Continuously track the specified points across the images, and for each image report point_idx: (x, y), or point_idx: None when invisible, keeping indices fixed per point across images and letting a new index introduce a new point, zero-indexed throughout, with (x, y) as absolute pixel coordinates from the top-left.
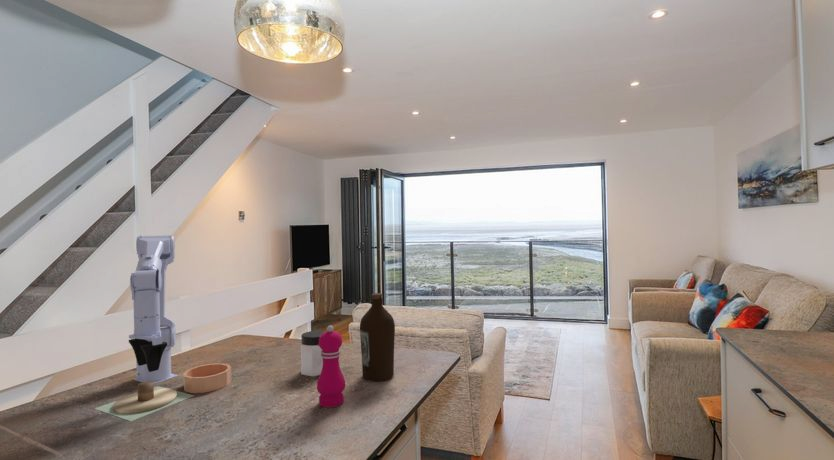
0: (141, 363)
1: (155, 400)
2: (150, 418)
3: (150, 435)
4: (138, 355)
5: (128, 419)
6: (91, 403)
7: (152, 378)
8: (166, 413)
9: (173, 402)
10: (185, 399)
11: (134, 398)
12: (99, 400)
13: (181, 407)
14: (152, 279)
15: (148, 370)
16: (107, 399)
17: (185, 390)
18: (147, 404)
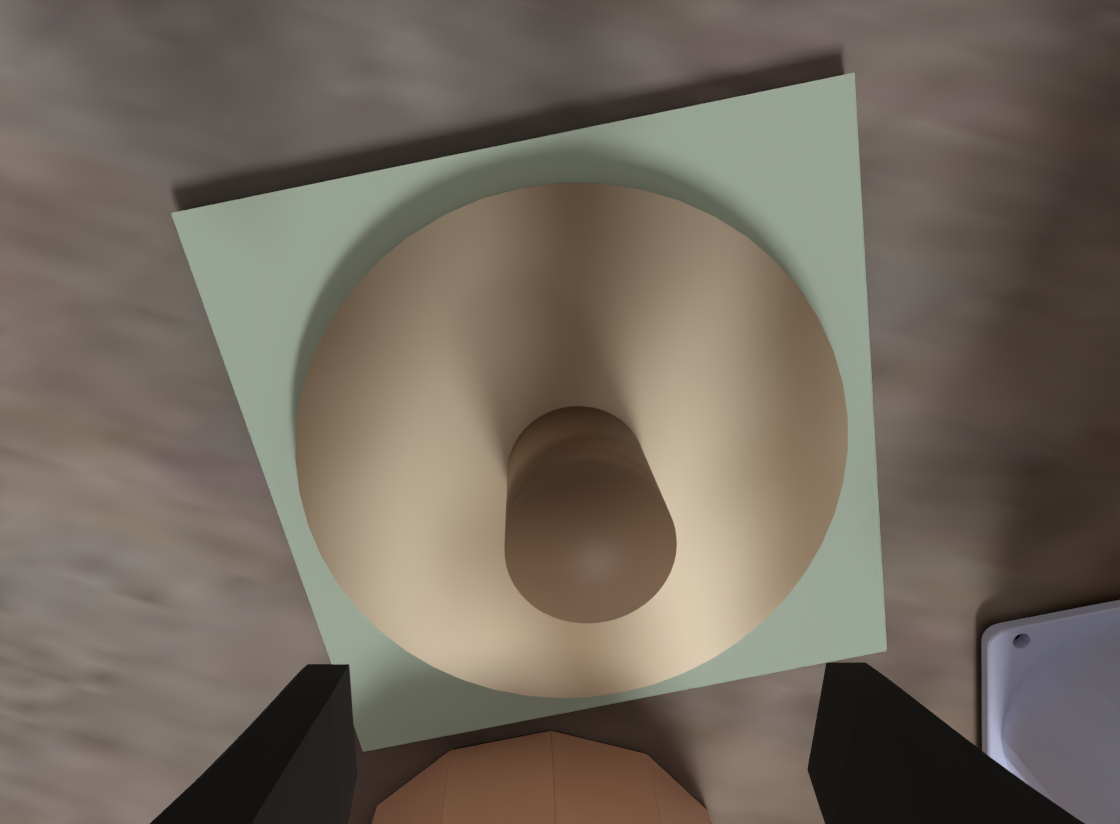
0: (832, 714)
1: (449, 511)
2: (168, 363)
3: None
4: (933, 814)
5: (237, 209)
6: (1082, 117)
7: (1068, 676)
8: (180, 487)
9: (343, 600)
10: None
11: (688, 405)
12: (1087, 198)
13: (222, 606)
14: None
15: (330, 674)
16: (1035, 259)
17: (541, 748)
18: (401, 432)
